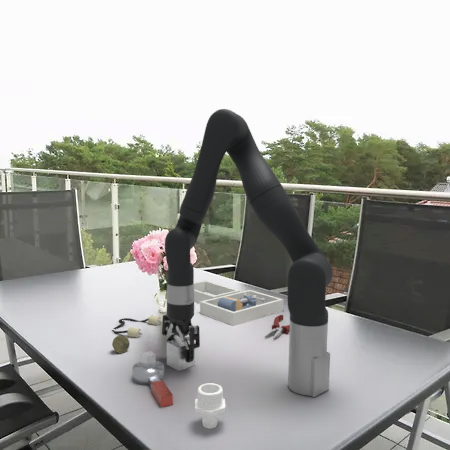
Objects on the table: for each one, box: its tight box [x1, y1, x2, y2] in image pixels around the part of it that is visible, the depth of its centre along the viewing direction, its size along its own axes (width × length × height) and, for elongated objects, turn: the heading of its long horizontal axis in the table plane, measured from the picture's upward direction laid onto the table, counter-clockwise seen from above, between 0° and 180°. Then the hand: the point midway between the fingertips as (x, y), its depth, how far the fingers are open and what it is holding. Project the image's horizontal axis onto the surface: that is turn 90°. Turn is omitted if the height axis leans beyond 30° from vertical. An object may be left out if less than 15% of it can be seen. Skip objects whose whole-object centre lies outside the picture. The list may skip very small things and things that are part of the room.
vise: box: [218, 293, 265, 312], centre depth 172 cm, size 18×10×7 cm, turn 137°
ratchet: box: [132, 350, 174, 408], centre depth 112 cm, size 20×8×6 cm, turn 25°
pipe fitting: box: [194, 382, 226, 430], centre depth 96 cm, size 6×7×8 cm
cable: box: [111, 314, 162, 339], centre depth 154 cm, size 16×16×4 cm
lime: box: [111, 334, 130, 354], centre depth 134 cm, size 4×5×5 cm
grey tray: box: [194, 280, 241, 304], centre depth 190 cm, size 22×14×4 cm, turn 42°
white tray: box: [199, 289, 285, 327], centre depth 173 cm, size 18×26×4 cm
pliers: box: [264, 314, 290, 340], centre depth 153 cm, size 12×21×3 cm, turn 148°
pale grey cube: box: [166, 337, 196, 372], centre depth 125 cm, size 6×6×6 cm
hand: (180, 356), depth 126 cm, fingers open, 8 cm apart
